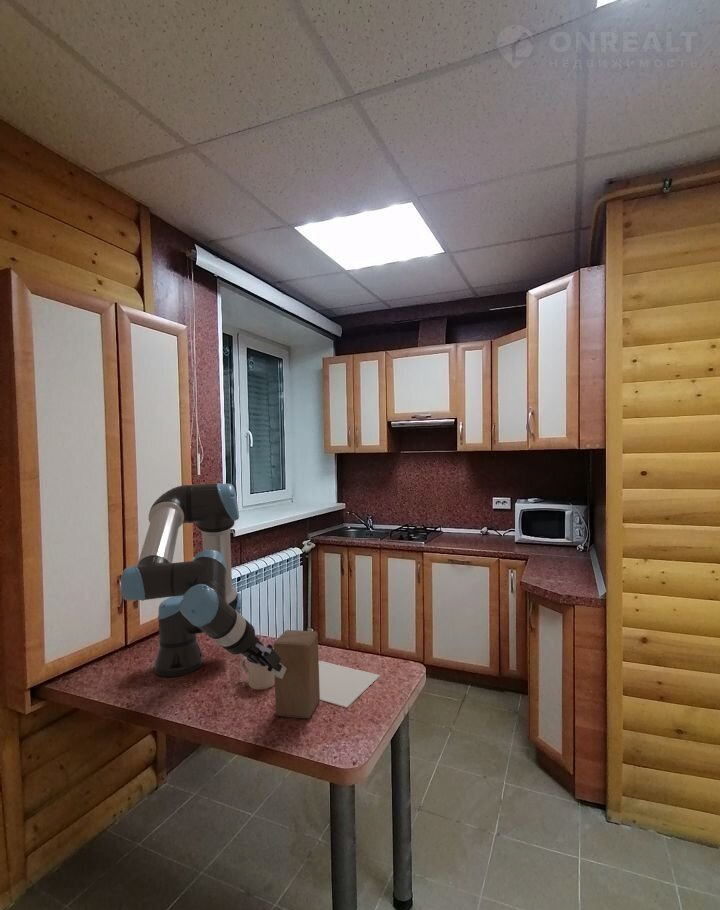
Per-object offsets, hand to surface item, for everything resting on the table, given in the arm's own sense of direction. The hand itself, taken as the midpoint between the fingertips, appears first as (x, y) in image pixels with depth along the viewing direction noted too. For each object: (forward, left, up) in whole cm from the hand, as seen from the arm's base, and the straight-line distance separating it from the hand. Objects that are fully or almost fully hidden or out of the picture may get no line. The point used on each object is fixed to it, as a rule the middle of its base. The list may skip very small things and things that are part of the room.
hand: (282, 673), depth 120 cm
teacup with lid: (-21, +13, -13) cm, 28 cm away
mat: (-1, +23, -13) cm, 27 cm away
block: (-1, +7, -13) cm, 15 cm away
